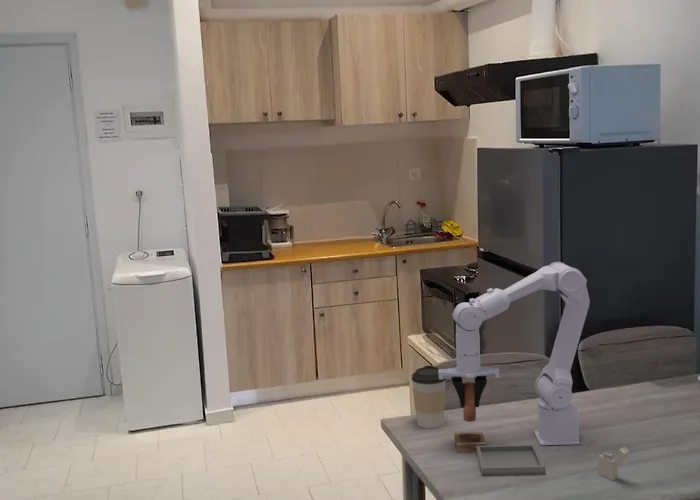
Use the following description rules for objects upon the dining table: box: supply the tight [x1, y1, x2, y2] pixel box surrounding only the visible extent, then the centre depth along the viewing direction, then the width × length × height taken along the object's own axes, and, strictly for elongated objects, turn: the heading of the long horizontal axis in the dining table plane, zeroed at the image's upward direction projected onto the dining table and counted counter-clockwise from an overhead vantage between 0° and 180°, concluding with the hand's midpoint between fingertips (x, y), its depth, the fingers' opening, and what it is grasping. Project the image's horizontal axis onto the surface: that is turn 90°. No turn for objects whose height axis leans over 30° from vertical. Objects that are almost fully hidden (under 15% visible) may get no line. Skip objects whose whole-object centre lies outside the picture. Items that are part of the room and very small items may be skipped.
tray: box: [475, 444, 546, 477], centre depth 170 cm, size 14×12×2 cm
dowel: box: [462, 381, 477, 423], centre depth 179 cm, size 3×3×9 cm
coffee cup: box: [411, 365, 447, 429], centre depth 195 cm, size 9×9×15 cm
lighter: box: [597, 446, 631, 481], centre depth 160 cm, size 7×2×8 cm, turn 32°
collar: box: [453, 431, 487, 453], centre depth 181 cm, size 7×7×2 cm
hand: (469, 405), depth 179 cm, fingers closed on dowel, 3 cm apart
